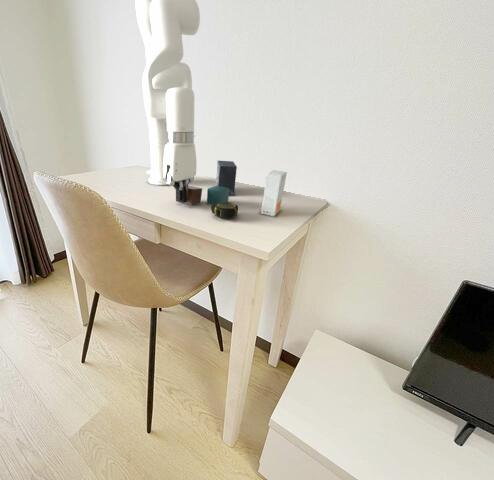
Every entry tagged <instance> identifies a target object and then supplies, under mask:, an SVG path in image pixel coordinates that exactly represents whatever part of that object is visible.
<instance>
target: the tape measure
mask: <svg viewBox="0 0 494 480" xmlns="http://www.w3.org/2000/svg"><path fill="white" fill-rule="evenodd" d="M210 212H211V213H212V214H214V215H215V217H216V218H219V219H224V220H230V219H231V220H232V219H235V218H237V217H238V213H239V206H238V204H236V203H233V202H229V201H228V202H225V203H215V204H212V205H211V206H210Z"/></svg>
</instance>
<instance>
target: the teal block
mask: <svg viewBox="0 0 494 480" xmlns="http://www.w3.org/2000/svg"><path fill="white" fill-rule="evenodd" d="M229 196H230V195H229V188H225V187H221V186H216V185H214V186H211V187H208V188H207V191H206V204H208V205H211V206H212V204H215V203H225V202H229Z"/></svg>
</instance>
